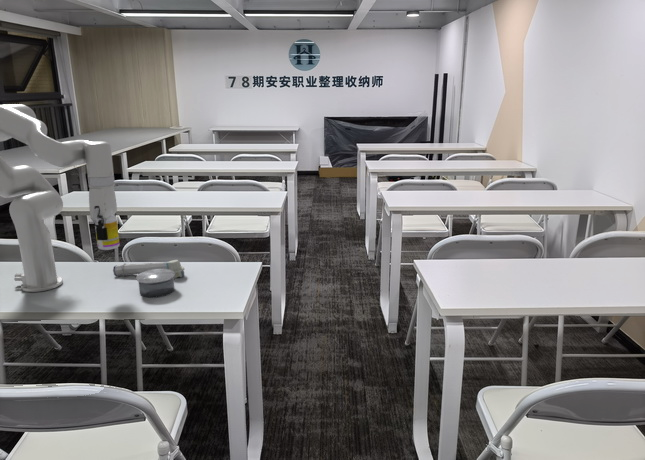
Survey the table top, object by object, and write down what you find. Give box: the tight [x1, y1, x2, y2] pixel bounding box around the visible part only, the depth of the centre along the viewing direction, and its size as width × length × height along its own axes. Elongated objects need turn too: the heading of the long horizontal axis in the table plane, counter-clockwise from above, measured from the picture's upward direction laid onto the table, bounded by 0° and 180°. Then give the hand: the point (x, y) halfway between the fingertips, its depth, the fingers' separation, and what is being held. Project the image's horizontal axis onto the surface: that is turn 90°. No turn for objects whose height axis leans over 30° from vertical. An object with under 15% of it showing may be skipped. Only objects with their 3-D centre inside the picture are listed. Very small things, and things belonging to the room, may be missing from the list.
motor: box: [135, 269, 175, 299], centre depth 169 cm, size 12×13×6 cm
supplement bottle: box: [94, 210, 120, 251], centre depth 163 cm, size 7×7×13 cm
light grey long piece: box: [112, 259, 185, 279], centre depth 182 cm, size 5×7×25 cm
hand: (107, 236), depth 164 cm, fingers closed on supplement bottle, 6 cm apart
